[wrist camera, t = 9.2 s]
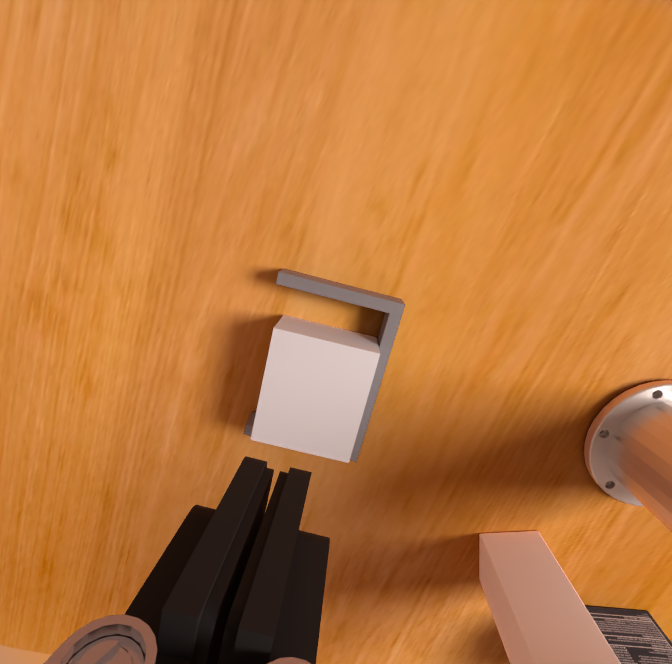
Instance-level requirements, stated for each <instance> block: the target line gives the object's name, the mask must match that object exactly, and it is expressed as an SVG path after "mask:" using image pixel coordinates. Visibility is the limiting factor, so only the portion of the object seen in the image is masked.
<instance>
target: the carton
mask: <svg viewBox="0 0 672 664" xmlns="http://www.w3.org/2000/svg"><path fill="white" fill-rule="evenodd" d="M379 357H380V350H379V346H378V342H377V338H376V337H373V336H369V335H365V334H361V333H357V332H353V331H349V330H345V329H341V328H336V327H332V326H328V325H324V324H320V323H316V322H312V321H308V320H304V319H300V318H296V317H292V316H287V315H283V316H282V318H281V319H280V320H279V322H278V323H277V324H276V325H275V327H274V328H273V333H272V338H271V343H270V348H269V352H268V357H267V362H266V367H265V372H264V377H263V381H262V386H261V391H260V396H259V401H258V406H257V410H256V415H255V420H254V425H253V430H252V435H251V439H250V440H253V441H257V442H262V443H266V444H270V445H274V446H278V447H283V448H287V449H291V450H295V451H300V452H304V453H308V454H312V455H317V456H321V457H325V458H329V459H334V460H338V461H342V462H346V463H349V461H350V457H351V454H352V450H353V447H354V443H355V440H356V436H357V433H358V429H359V426H360V423H361V419H362V416H363V412H364V409H365V405H366V402H367V398H368V395H369V391H370V388H371V384H372V381H373V378H374V374H375V371H376V367H377V364H378V360H379Z"/></svg>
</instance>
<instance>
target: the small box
mask: <svg viewBox="0 0 672 664" xmlns="http://www.w3.org/2000/svg"><path fill="white" fill-rule="evenodd" d="M585 607H586V608H587V610H588V611H589V613H590V615H591V616H592V618H593V619H594V621H595V623H596V624H597V626H598V628H599V629H600V631H601V632H602V634H603V636H604V637H605V639H606V640H607V642H608V644H609V645H610V647H611V648H612V650H613V652H614V653H615V655H616V656H617V658H618V660H619V661H620V663H621V664H672V643H671V641H670V640H669V639H668V637H667V636H666V635H665V634H664V632H663V631H662V630H661V628H660V627H659V626H658V624H657V623H656V622H655V620H654V619H653V618H652V616H651V615H650V613H649V612H648V611H644V610H632V609H619V608H606V607H594V606H585Z"/></svg>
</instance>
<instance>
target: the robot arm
mask: <svg viewBox="0 0 672 664" xmlns="http://www.w3.org/2000/svg"><path fill="white" fill-rule="evenodd" d="M584 457H585V464H586V466H587V469H588V472H589V474H590V475H591V477H592V478H593V480H594V481H595V482H596V483H597V484H598V485H599V486H600V488H601V489H602V490H603V491H605V492H606V493H607V494H609V495H610V496H611V497H613V498H615V499H617V500H619V501H621V502H623V503H627V504H631V505H635V506H645V507H646V508H647V509H648V510H649V511H650V512H651V513H652V514H653V515H654V516H655V517H656V518H658V519H659V520H660V521H661V522H662V523H663V524H664V525H665V526H666V527H667V528H668V529H669V530H670V531H671V532H672V380H663V381H653V382H649V383H645V384H642V385H638V386H636V387H634V388H631V389H629V390H627V391H625V392H623V393H622V394H620V395H619V396H617V397H616V398H614V399H613V400H612V401H610V402H609V403H608V404H607V405H606V406H605V407H604V408H603V409H602V410H601V411H600V413H599V414H598V415H597V416H596V418H595V419H594V421H593V422H592V424H591V426H590V428H589V430H588V433H587V436H586V440H585V446H584ZM273 472H274V470H273V469H269V468H267V461H262V460H258V459H254V458H250V457H245V458H244V459H243V461H242V463H241V465H240V467H239V469H238V470H237V472H236V474H235V476H234V478H233V480H232V481H231V483H230V485H229V487H228V489H227V491H226V493H225V494H224V496H223V498H222V500H221V502H220V504H219V505H218V507H217V509H216V510H215V509H211V508H207V507H203V506H199V505H195V506H194V507H193V508H192V509H191V511H190V512H189V514H188V515H187V517H186V518H185V520H184V521H183V523H182V525H181V526H180V528H179V529H178V531H177V532H176V534H175V536H174V537H173V539H172V540H171V542H170V544H169V545H168V547H167V548H166V550H165V551H164V553H163V555H162V556H161V558H160V559H159V561H158V562H157V564H156V566H155V567H154V569H153V570H152V572H151V573H150V575H149V577H148V578H147V580H146V581H145V583H144V585H143V586H142V588H141V589H140V591H139V592H138V594H137V596H136V597H135V599H134V600H133V602H132V603H131V605H130V607H129V608H128V610H127V611H126V613H125V615H111V616H107V617H104V618H101V619H98V620H94V621H92V622H90V623H89V624H87V625H85V626H84V627H82V628H80V629H78V630H77V631H76V632H75V633H74V634H72V635H71V636H70V637H69V638H68V639H67V640H66V641H65V642H63V643H62V644H61V645H60V647H59V648H58V649H57V650H56V651H55V652H54V653H53V654H52V655H51V656H50V658H49V659H48V660H47V661H46V662H45V663H44V664H316V656H317V647H318V639H319V630H320V621H321V613H322V604H323V595H324V587H325V578H326V569H327V561H328V552H329V543H330V538H328V537H324V536H320V535H316V534H312V533H308V532H304V531H300V530H299V525H300V521H301V517H302V512H303V508H304V503H305V499H306V494H307V490H308V486H309V481H310V477H311V472H307V471H303V470H299V469H295V468H291V467H290V470H289V473H285V472H281V471H280V473H279V476H278V479H277V482H276V484H275V487H274V490H273V493H272V496H271V498H270V501H269V504H268V507H267V509H266V506H267V501H268V496H269V492H270V487H271V482H272V477H273ZM265 510H266V512H265Z"/></svg>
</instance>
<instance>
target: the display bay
mask: <svg viewBox="0 0 672 664" xmlns="http://www.w3.org/2000/svg"><path fill="white" fill-rule="evenodd" d="M276 284H279V285H282V286H286V287H290V288H294V289H298V290H302V291H306V292H309V293H313V294H317V295H321V296H325V297H329V298H333V299H336V300H340V301H344V302H348V303H352V304H356V305H359V306H363V307H367V308H371V309H375V310H379V311H383V312H385V315H384V319H383V322H382V326H381V329H380V332H379V336H378V339H377V342H378V346H379V350H380V357H379V360H378V364H377V367H376V371H375V374H374V378H373V381H372V384H371V388H370V391H369V395H368V398H367V402H366V405H365V409H364V412H363V416H362V419H361V423H360V426H359V429H358V433H357V436H356V440H355V443H354V447H353V450H352V454H351V457H350V460H351V461H355V462H357V459H358V456H359V452H360V449H361V446H362V443H363V439H364V436H365V433H366V430H367V426H368V423H369V420H370V417H371V414H372V410H373V407H374V404H375V401H376V397H377V394H378V391H379V388H380V385H381V381H382V378H383V375H384V372H385V368H386V365H387V362H388V359H389V355H390V352H391V349H392V346H393V343H394V339H395V336H396V333H397V330H398V326H399V323H400V320H401V317H402V314H403V310H404V307H405V304H404V302H403V301H402V300H401V299H399V298H395V297H391V296H387V295H383V294H379V293H376V292H372V291H368V290H364V289H360V288H356V287H353V286H349V285H345V284H341V283H337V282H333V281H330V280H326V279H322V278H318V277H314V276H310V275H307V274H303V273H299V272H295V271H291V270H287V269H282V270H281V271H279V272H278V277H277V281H276ZM255 415H256V412H252V414H251V416H250V417H249V419H248V421H247V423H246V426H245V430H244V434H245V435H249V436H251V435H252V430H253V425H254V420H255Z"/></svg>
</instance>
